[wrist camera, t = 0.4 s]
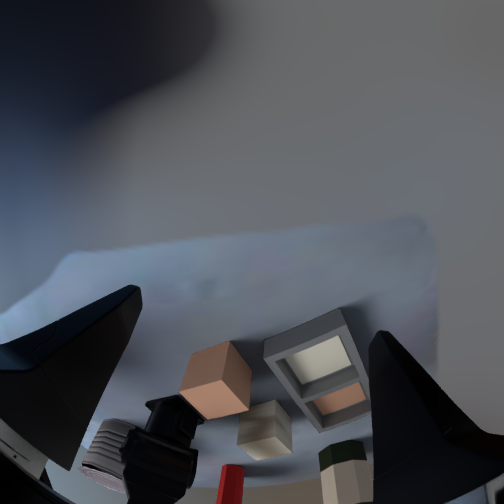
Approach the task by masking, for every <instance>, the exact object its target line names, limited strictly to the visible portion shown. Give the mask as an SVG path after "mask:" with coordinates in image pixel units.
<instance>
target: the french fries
mask: <svg viewBox="0 0 504 504" xmlns="http://www.w3.org/2000/svg"><path fill="white" fill-rule="evenodd" d="M243 483H244V468H243V467H241V466H239V465H229V464H227V465H224V466H222V472H221V478H220V484H219V489H218V495H217V501H216V504H242V495H243Z"/></svg>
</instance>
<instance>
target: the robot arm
mask: <svg viewBox="0 0 504 504" xmlns="http://www.w3.org/2000/svg"><path fill="white" fill-rule="evenodd" d="M142 305H143V303H142V296H141V289H140V287H138V286H135V285H128V286H125V287H123V288H121V289H119V290H117V291H115V292H113V293H111V294H109V295H107V296H105V297H103V298H101V299H99V300H97V301H95V302H93V303H91V304H89V305H87V306H85V307H83V308H81V309H79V310H77V311H75V312H73V313H71V314H69V315H67V316H65V317H63V318H61V319H59V320H58V321H55V322H53V323H51V324H49V325H47V326H45V327H43V328H41V329H39V330H36V331H34V332H32V333H29V334H27V335H24V336H22V337H20V338H17V339H15V340H12V341H10V342H7V343H5V344H1V345H0V504H75V503H73V502H72V501H70V500H69V499H67V498H65V497H64V496H62V495H60V494H59V493H57V492H56V491H54V490H53V488H52V485H51V483H50V480H49V477H48V475H47V472H46V469H45V465H46V463H47V461H48V459H50V460H52V461H53V462H55V463H56V464H58V465H59V466H61V467H63V468H64V469H66V470H68V471H70V469H71V467H72V464H73V461H74V459H75V456H76V454H77V452H78V449H79V447H80V444H81V442H82V439H83V437H84V435H85V432H86V430H87V427H88V425H89V423H90V420H91V418H92V416H93V414H94V412H95V409H96V407H97V405H98V403H99V401H100V398H101V396H102V394H103V392H104V390H105V388H106V386H107V384H108V382H109V380H110V378H111V376H112V374H113V372H114V370H115V368H116V366H117V364H118V362H119V360H120V358H121V356H122V354H123V352H124V350H125V348H126V346H127V344H128V342H129V340H130V337H131V335H132V332H133V330H134V327H135V325H136V322H137V320H138V317H139V315H140V312H141V310H142ZM369 392H370V402H371V415H372V431H373V459H374V480H373V504H504V435H498V434H491V433H487V432H485V431H483V430H482V429H480V428H479V427H478V426H477V425H476V424H475V423H474V422H473V421H472V420H471V419H470V418H469V417H468V416H467V415H466V414H465V413H464V412H463V411H462V410H461V409H460V408H459V407H458V406H457V405H456V404H455V403H454V402H453V401H452V400H451V399H450V398H449V397H448V395H447V394H446V393H445V392H444V391H443V390H442V389H441V387H439V385H438V384H437V383H436V382H435V381H434V380H433V378H432V377H431V376H430V375H429V374H428V373H427V372H426V371H425V370H424V368H423V367H422V366H421V365H420V364H419V363H418V362H417V361H416V360H415V359H414V358H413V357H412V355H411V354H410V353H409V352H408V351H407V350H406V349H405V348H404V347H403V346H402V345H401V344H400V343H399V342H398V341H397V339H396V338H395V337H394V336H393V335H392V334H391V333H390V332H389V331H384V330H379V331H378V332H377V333H376V335H375V337H374V338H373V340H372V342H371V343H370V346H369ZM145 406H146V407H147V408H148V409H149V410H151V411H152V412H151V415H150V417H149V419H148V422H147V424H146V427H145V429H144V430H142V429H140V428H139V427H137V426H136V427H135V429H130V430H129V432H128V434H127V436H126V438H125V440H124V442H123V444H122V445H121V447H120V449H119V453H120V455H121V458H120V459H121V463H120V464H122V465H124V466H125V467H124V470H123V475H122V481H123V485H124V488H125V492H126V495H127V498H128V503H127V504H174V503H176V502H177V501H178V500H179V499H181V498H182V497H183V496H184V495H185V492H186V489H189V488H190V487H191V486H192V484H193V481H194V478H195V474H196V468H197V459H198V450H197V449H192V448H190V444H191V440H192V439H194V435H195V431H196V427H197V425H202V424H204V420H203V419H202V418H201V417H200V416H199V415H198V414H197V413H195V412H194V411H193V410H192V409H191V408H190V407H189V406H188V405H187V404H186V403H185V402H184V401H183V400H182V399H181V398H180V397H179V396H172V397H168V398H163V399H158V400H154V401H149V402H146V404H145Z"/></svg>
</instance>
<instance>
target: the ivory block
mask: <svg viewBox="0 0 504 504" xmlns="http://www.w3.org/2000/svg"><path fill="white" fill-rule="evenodd" d="M237 445H238V446H239V447H240V448H241V449H243V450H244V451H245V452H246V453H248V454H249V455H250V456H252V457H253V458H254V459H256V460H261V459H267V458H272V457H276V456H281V455H285V454H290V453H293V451H292V431H291V418H290V417H289V416H288V414H287V413H286V412H285V411H284V410H283V408H282V407H281V406H280V405H279V404H278V402H277V401H276V400H272V401H269V402H265V403H262V404H258V405H255V406H251V407H249V410H248V411H244V412H240V421H239V430H238V438H237Z"/></svg>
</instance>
